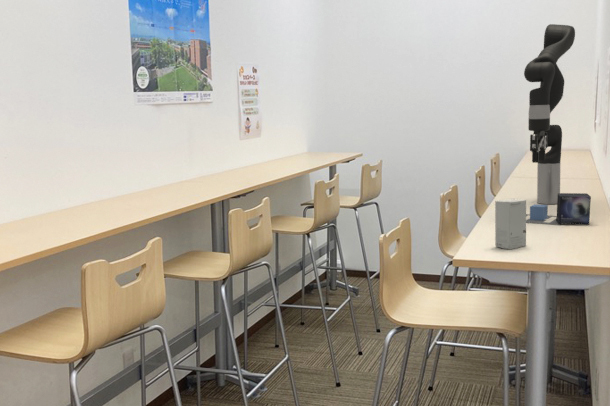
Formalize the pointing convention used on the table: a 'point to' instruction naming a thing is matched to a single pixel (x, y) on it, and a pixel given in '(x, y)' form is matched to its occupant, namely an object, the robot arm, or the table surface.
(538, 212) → the blue cube
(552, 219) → the letter board
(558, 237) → the table surface
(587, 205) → the small box
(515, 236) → the skincare box
